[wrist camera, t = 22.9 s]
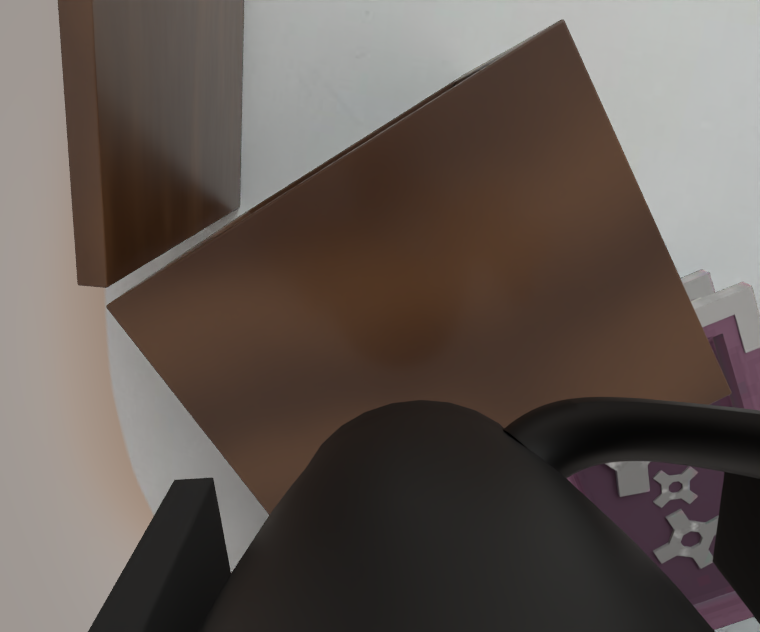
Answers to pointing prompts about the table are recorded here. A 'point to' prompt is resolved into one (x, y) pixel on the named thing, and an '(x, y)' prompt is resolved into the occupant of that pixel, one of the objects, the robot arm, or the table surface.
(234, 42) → the cupboard door
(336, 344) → the cupboard
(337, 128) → the table surface
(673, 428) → the mug
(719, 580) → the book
